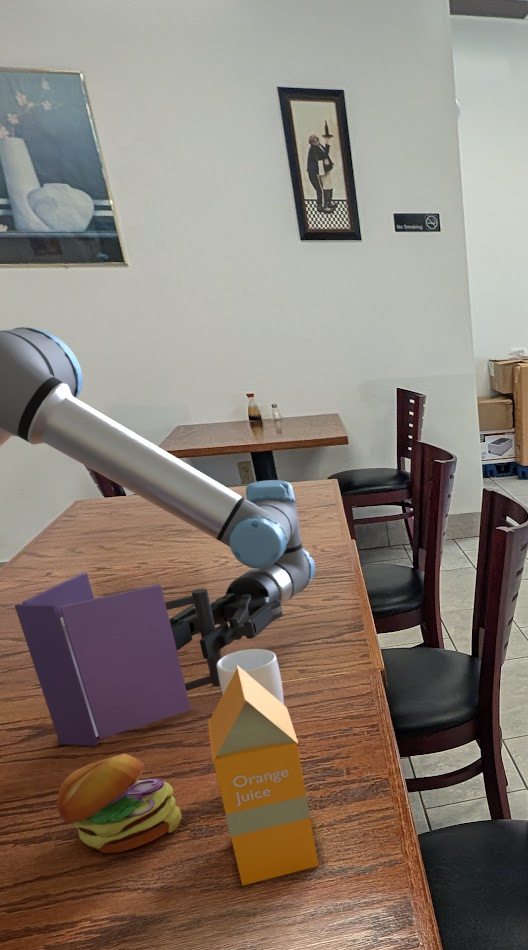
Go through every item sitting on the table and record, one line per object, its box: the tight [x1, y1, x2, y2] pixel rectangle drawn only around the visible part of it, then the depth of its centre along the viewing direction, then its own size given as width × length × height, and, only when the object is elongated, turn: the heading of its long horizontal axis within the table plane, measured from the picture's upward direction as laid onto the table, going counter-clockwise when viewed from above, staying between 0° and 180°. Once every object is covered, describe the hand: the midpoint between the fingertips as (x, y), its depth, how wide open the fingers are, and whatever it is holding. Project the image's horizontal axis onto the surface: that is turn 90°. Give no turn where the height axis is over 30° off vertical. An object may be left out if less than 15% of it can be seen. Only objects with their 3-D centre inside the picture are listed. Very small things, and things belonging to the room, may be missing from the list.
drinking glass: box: [217, 648, 285, 706], centre depth 99 cm, size 7×7×15 cm
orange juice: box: [207, 665, 320, 887], centre depth 82 cm, size 8×9×20 cm
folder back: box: [14, 571, 99, 747], centre depth 110 cm, size 5×13×20 cm, turn 174°
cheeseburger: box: [56, 753, 183, 854], centre depth 89 cm, size 10×11×10 cm
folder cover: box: [60, 583, 222, 740], centre depth 110 cm, size 2×18×18 cm, turn 133°
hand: (183, 648), depth 111 cm, fingers closed on folder cover, 5 cm apart
